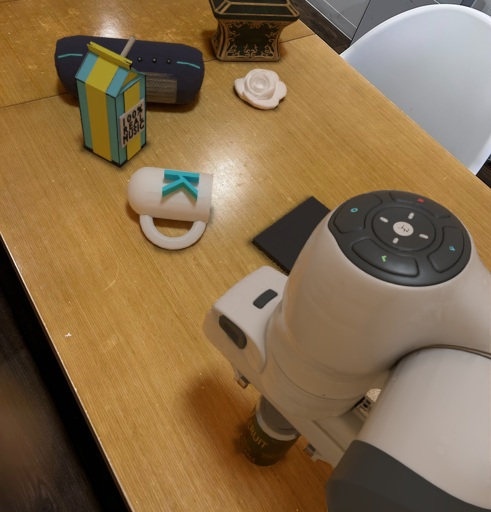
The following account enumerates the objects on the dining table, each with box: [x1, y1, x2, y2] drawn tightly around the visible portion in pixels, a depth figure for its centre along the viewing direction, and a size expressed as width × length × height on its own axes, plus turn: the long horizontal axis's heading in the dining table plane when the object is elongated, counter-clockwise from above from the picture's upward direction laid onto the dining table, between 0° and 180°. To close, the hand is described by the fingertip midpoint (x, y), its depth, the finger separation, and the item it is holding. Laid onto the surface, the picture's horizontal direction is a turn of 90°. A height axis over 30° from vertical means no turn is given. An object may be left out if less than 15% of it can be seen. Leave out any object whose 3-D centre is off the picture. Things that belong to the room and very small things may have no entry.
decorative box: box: [208, 0, 301, 62], centre depth 95 cm, size 20×10×20 cm, turn 103°
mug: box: [126, 166, 214, 250], centre depth 71 cm, size 12×9×12 cm
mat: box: [251, 195, 332, 275], centre depth 74 cm, size 20×14×1 cm
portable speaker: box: [53, 34, 206, 105], centre depth 85 cm, size 25×10×10 cm, turn 96°
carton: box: [75, 35, 148, 169], centre depth 74 cm, size 7×8×18 cm
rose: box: [233, 68, 288, 110], centre depth 93 cm, size 10×4×10 cm
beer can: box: [239, 393, 302, 468], centre depth 52 cm, size 5×5×12 cm
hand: (277, 414), depth 49 cm, fingers open, 8 cm apart
